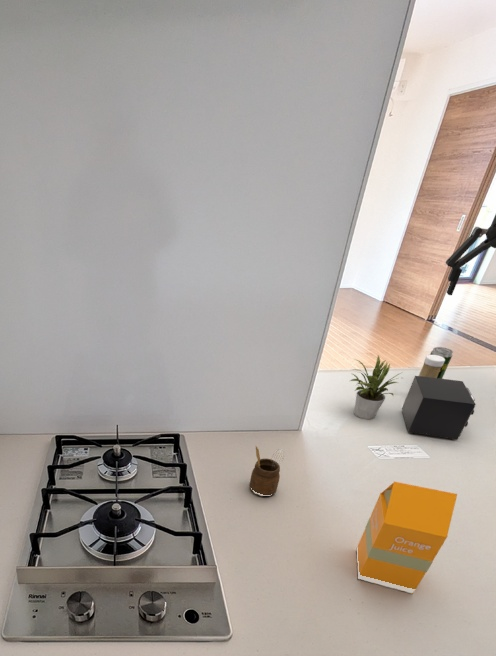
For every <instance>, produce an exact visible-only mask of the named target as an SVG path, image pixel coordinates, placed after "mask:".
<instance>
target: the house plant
mask: <svg viewBox="0 0 496 656" xmlns="http://www.w3.org/2000/svg"><path fill="white" fill-rule="evenodd" d="M354 360H355V361H357V362H358V363H359V365H360V364H361V366H362V368H363V369H364V371H365V372H364V371H362V370H360V369H356V368H354V369H351V370H352V371H358V373H359V374H361V375H362V377H363V379H364V381H363V380H362V379H359V377H358V376H357V375H356V374H354V373H352V376H354V377H355V378H352V379H350V380H349V382H357V385H358V386H357V387H356V388H355V390H354V392H356V391H357V392H356V396H355V405H354V412H353V413H354V415H355V417H358V418H359V419H363V420H372V419H375V417H376V415H377V414H378V413H379V410H380V408H381V407H382V405H383V403H384V402H385V400H386V395H387V394H389V395H392V396H394V393H393V392H388V391H389V389H388V388H387V386H390V385H392V384H398V382H397V381H394V380H397V379H398V376H399V375H400V374H402V372H401V373H398V374H396V375H394V376H393V377H391V378H390V379H389V380H387V381H385V382H384V380H385V378H386V377H387V375H388V374H389V371H390V367H391V363H389V362H388V361H387V360H386V359H385V360H383V361H382V362H381V359H380V355H379V354H377V357H376V363H375V365H374V368H373V370H372V375H369V373H368V370H367V368H366V366H365V365H364V363H363V362H361V361H360V360H358V359H356V358H354ZM396 377H397V378H396ZM394 378H395V379H394ZM402 379H404V377H402ZM383 382H384V383H383ZM364 386H365V387H364ZM386 391H387V392H386Z"/></svg>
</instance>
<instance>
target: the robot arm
mask: <svg viewBox="0 0 496 656" xmlns="http://www.w3.org/2000/svg"><path fill="white" fill-rule="evenodd" d="M484 235H485V236H486V239H485V240H483V241H481V242H480V243H479V245H477V246H476V247H474V248H473V249H472V250H470V251H469V252H468V253H466V252H467V251H468V250H469V249H470V248H471V246H473V245H474V243H476V242H477V240H478V239H480V238H482V237H483V236H484ZM491 247H492V248H493V249H496V214H495V215H494V217H493V220H492V223H491V224H490V226H489V227H488V228H484V227H483V228H482V227H480V226H475V227H474V228H473V230H472V231H471V233H470V235H469V236H468V238H466V240H465V241H463V243H462V244H461V245H460V246H459V247H458V248H457V249H456V250H455V251H454V252H453V253H452V254H451V255H450V256H449V257H448V258H447V259H446V260H445V264H446V265H447V267H450V268H451V269H450V272H449V274H448V276H447V281H448V282H449V285H448V287H447V290H446V294H447V295H448V296H453V294H454V291H455V288H456V286H457V285H458V282H459V280H460V277H461V275H462V271H463V269H462V267H463V266H464V265H466V264H468V263H469V262H470V261H472V260H473V259H475V258H476V257H478V256H479V255H480V254H481V253H483V252H485V251H487V250H489V249H490V248H491ZM465 253H466V254H465ZM464 254H465V255H464Z"/></svg>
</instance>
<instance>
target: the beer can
mask: <svg viewBox="0 0 496 656" xmlns="http://www.w3.org/2000/svg"><path fill="white" fill-rule="evenodd" d="M453 353H454V351H453V350H452V349H450V348H447V347H442V346H436V347H433V349H432V350H431V351H430V354H429V355H438V356H441V357H443V358H445V362H444V364H443V366H442V367H441V369H440V371H439V374H438V376H437V378H440V379H444V376H445V373H446V371H447V369H448V366H449V365H450V363H451V360H452V358H453Z"/></svg>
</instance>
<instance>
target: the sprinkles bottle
mask: <svg viewBox="0 0 496 656" xmlns="http://www.w3.org/2000/svg"><path fill="white" fill-rule="evenodd" d="M444 362H445V358H443V357H441V356H438V355H430V354H428V355H426V356H425V358H424V361H423V365H422V367H421V369H420V372H419V373H418V376H423V377H431V378H437V376H438V374H439V371H440V369H441V367H442V366H443V364H444Z"/></svg>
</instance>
